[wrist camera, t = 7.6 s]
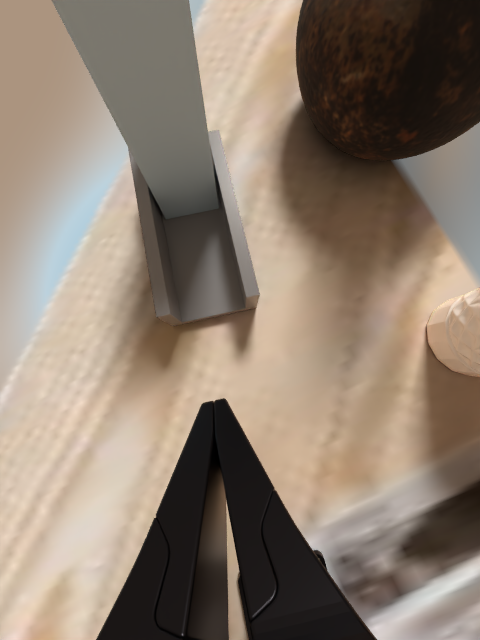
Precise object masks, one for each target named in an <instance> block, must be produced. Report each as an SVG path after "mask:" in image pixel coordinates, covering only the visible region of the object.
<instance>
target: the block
mask: <svg viewBox="0 0 480 640" xmlns="http://www.w3.org/2000/svg"><path fill="white" fill-rule="evenodd" d="M52 2H53V4H54V6H55V8H56V10H57V12H58V14H59V15H60V17H61V19H62V21H63V23H64V25H65V27H66V29H67V31H68V33H69V35H70V36H71V38H72V40H73V42H74V44H75V46H76V48H77V50H78V52H79V54H80V55H81V57H82V59H83V61H84V63H85V65H86V67H87V69H88V71H89V73H90V75H91V77H92V79H93V80H94V82H95V84H96V86H97V88H98V90H99V92H100V94H101V96H102V98H103V100H104V102H105V104H106V106H107V107H108V109H109V111H110V113H111V115H112V117H113V119H114V121H115V123H116V125H117V127H118V128H119V130H120V132H121V134H122V136H123V138H124V140H125V142H126V144H127V146H128V148H129V150H130V152H131V153H132V155H133V157H134V159H135V161H136V163H137V165H138V167H139V169H140V171H141V173H142V175H143V176H144V178H145V180H146V182H147V184H148V186H149V188H150V190H151V192H152V194H153V196H154V198H155V199H156V201H157V203H158V205H159V207H160V209H161V211H162V213H163V215H164V217H165V219H171V218H175V217H180V216H185V215H190V214H195V213H200V212H205V211H209V210H214V209H219V206H218V199H217V192H216V185H215V178H214V171H213V164H212V157H211V150H210V143H209V136H208V130H207V123H206V116H205V109H204V102H203V95H202V88H201V81H200V74H199V67H198V60H197V53H196V47H195V40H194V33H193V26H192V19H191V12H190V5H189V0H52Z"/></svg>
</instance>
